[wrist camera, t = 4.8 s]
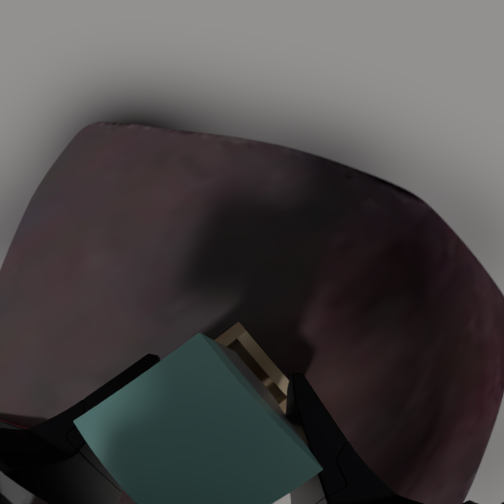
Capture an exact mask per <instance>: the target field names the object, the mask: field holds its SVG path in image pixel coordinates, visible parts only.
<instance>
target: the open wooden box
mask: <svg viewBox="0 0 504 504" xmlns="http://www.w3.org/2000/svg"><path fill="white" fill-rule="evenodd" d="M214 341H216V342H218V343H220V344H222V345H224V346H225V347H227V348H229V349H231V350H233V351H235V352H236V353H237V354H238V355H239V356H240V357H241V359H242V360H243V361H244V362H245V363H246V365H247V366H248V367H249V368H250V369H251V371H252V372H253V373H254V374H255V375H256V376H257V378H258V379H259V380H260V381H261V382H262V383H263V384H264V386H265V387H266V388H267V389H268V390H269V391H270V392H271V393H272V395H273V396H274V398H275V399H276V401H277V403H278V404H279V406H280V407H281V409H282V410H283V412H284V413H285V414H286V400H287V387H288V383H289V380H288V379H287V378H286V377H285V375H284V374H283V373H282V372H281V371H280V370H279V369H278V367H277V366H276V365H275V364H274V363H273V362H272V361H271V359H270V358H269V357H268V356H267V355H266V354H265V352H264V351H263V350H262V349H261V348H260V346H259V345H258V344H257V343H256V342H255V341H254V339H253V338H252V337H251V336H250V335H249V333H248V332H247V331H246V330H245V329H244V327H243V326H242V325H241V324H240V322H238V323H236V324H235V325H234V326H232V327H231V328H230V329H228V330H227V331H226V332H225V333H223V334H222V335H221V336H219V337H218V338H217V339H215V340H214Z"/></svg>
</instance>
